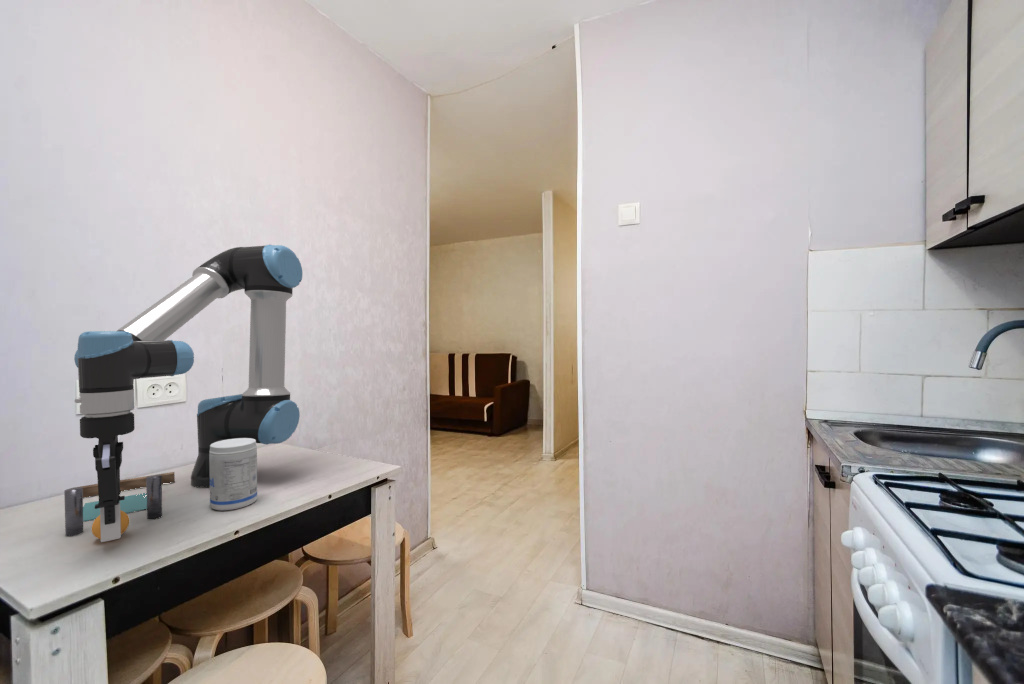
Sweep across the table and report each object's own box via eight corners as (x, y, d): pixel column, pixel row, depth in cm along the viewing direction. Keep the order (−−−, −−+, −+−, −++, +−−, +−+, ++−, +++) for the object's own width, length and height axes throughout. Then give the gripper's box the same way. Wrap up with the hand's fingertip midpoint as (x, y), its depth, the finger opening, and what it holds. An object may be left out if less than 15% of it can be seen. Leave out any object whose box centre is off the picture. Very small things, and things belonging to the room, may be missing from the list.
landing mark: (160, 491, 114) (160, 490, 114) (159, 507, 103) (159, 506, 103) (85, 504, 105) (85, 503, 105) (75, 523, 94) (75, 522, 94)
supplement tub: (206, 503, 105) (205, 442, 105) (252, 493, 111) (250, 435, 111) (214, 515, 98) (213, 449, 98) (262, 504, 104) (261, 441, 104)
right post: (162, 514, 99) (161, 474, 99) (162, 517, 97) (161, 476, 97) (147, 517, 97) (146, 476, 97) (146, 520, 95) (145, 479, 95)
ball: (129, 524, 86) (130, 540, 88) (128, 500, 89) (129, 516, 92) (89, 533, 82) (92, 549, 85) (90, 508, 85) (93, 524, 88)
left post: (84, 529, 91) (83, 486, 91) (82, 534, 89) (81, 489, 89) (66, 533, 89) (65, 488, 89) (64, 537, 87) (63, 492, 87)
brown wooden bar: (174, 480, 122) (174, 471, 122) (174, 482, 121) (174, 473, 121) (73, 497, 110) (73, 487, 110) (72, 499, 108) (71, 489, 108)
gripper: (84, 411, 85) (88, 532, 86) (73, 421, 75) (77, 558, 75) (135, 407, 90) (138, 522, 90) (132, 415, 80) (135, 545, 80)
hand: (111, 538), depth 83 cm, fingers closed
